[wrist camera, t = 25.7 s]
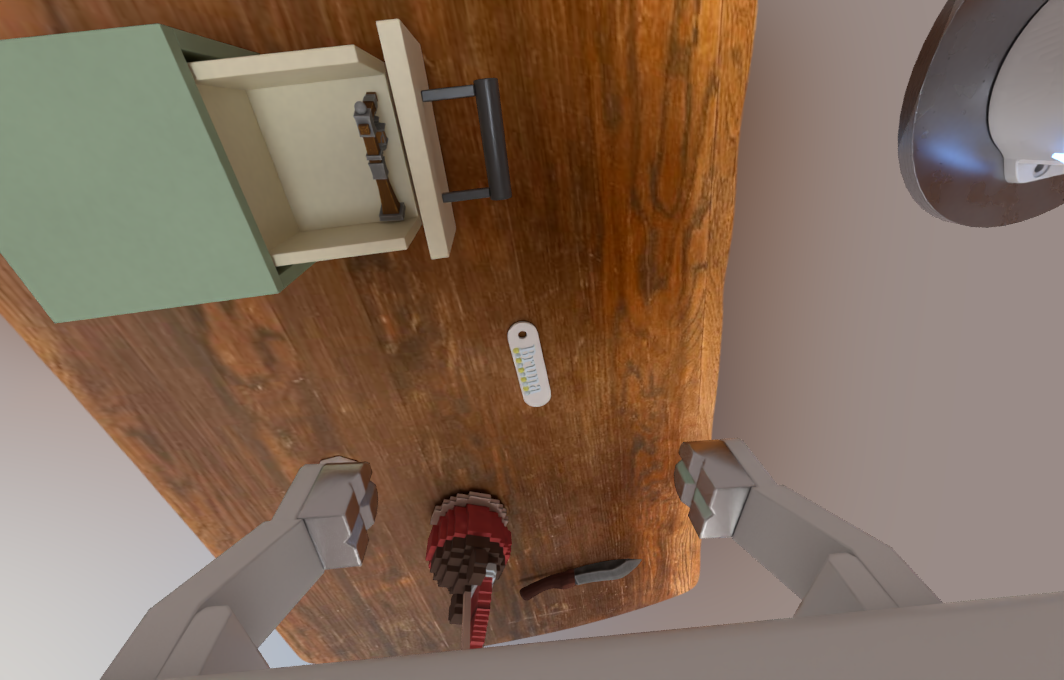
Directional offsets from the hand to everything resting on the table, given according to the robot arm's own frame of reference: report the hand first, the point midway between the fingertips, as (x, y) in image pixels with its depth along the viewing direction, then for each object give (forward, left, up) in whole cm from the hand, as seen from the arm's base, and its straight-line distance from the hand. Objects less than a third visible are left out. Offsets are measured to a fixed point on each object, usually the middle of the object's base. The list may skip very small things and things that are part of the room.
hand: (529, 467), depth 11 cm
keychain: (-3, +14, -28) cm, 31 cm away
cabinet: (+22, -5, -28) cm, 35 cm away
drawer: (+8, -6, -27) cm, 28 cm away
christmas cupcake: (+5, +36, -28) cm, 46 cm away
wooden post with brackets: (+8, -5, -26) cm, 28 cm away
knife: (-10, +50, -28) cm, 58 cm away
